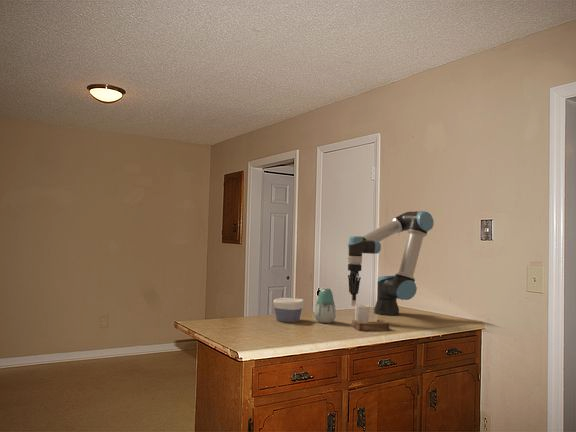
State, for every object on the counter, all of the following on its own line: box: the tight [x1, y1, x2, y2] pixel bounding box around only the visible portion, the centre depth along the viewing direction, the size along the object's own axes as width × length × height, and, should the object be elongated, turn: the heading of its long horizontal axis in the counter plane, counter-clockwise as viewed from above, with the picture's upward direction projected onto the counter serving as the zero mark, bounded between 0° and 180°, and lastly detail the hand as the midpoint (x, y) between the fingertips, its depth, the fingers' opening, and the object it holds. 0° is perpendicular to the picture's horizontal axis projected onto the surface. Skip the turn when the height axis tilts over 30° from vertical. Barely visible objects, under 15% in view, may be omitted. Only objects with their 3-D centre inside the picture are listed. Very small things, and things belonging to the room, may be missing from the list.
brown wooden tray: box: [351, 319, 390, 332], centre depth 249 cm, size 10×16×4 cm, turn 105°
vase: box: [314, 288, 337, 324], centre depth 263 cm, size 12×12×18 cm
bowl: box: [272, 297, 305, 323], centre depth 264 cm, size 15×15×11 cm
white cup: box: [354, 303, 371, 323], centre depth 259 cm, size 8×8×10 cm
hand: (352, 306), depth 271 cm, fingers closed
